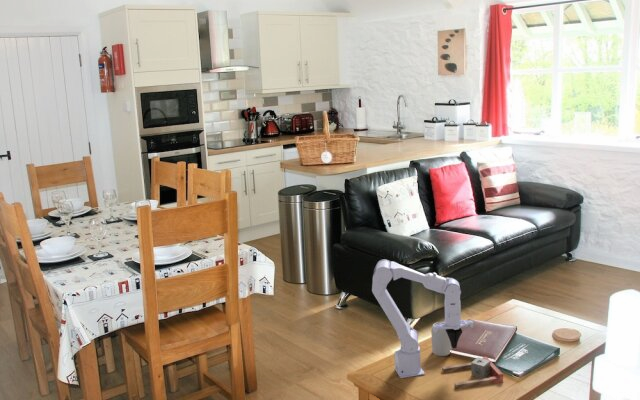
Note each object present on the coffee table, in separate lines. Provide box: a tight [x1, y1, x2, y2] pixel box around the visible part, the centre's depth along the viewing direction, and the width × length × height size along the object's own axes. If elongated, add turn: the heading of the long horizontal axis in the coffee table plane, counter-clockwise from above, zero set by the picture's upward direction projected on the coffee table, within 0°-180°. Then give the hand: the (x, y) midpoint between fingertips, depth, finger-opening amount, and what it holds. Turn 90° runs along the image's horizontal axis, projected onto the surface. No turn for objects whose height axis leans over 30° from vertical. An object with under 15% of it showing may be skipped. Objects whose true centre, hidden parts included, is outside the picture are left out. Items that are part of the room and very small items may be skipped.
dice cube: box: [470, 357, 492, 379], centre depth 224 cm, size 5×5×5 cm
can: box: [430, 321, 452, 357], centre depth 242 cm, size 8×8×12 cm
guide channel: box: [441, 356, 504, 390], centre depth 223 cm, size 18×14×3 cm
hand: (453, 346), depth 226 cm, fingers closed
